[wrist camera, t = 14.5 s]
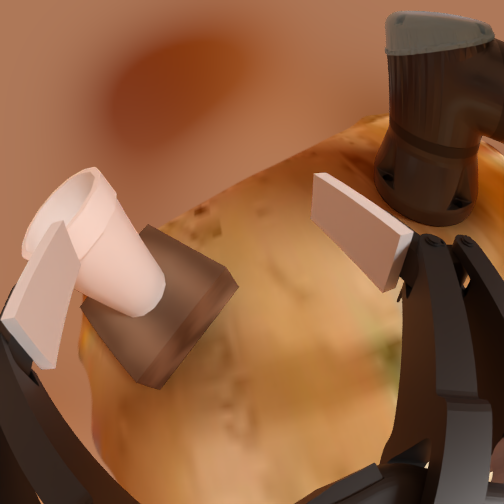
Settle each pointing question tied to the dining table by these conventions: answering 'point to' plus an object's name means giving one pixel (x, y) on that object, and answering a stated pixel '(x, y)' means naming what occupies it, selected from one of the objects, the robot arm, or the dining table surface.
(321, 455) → the dining table surface
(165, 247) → the walnut plinth
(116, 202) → the foam cup
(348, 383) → the dining table surface
